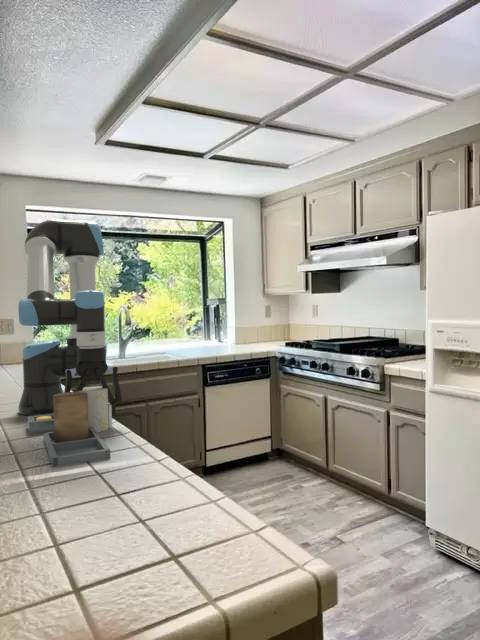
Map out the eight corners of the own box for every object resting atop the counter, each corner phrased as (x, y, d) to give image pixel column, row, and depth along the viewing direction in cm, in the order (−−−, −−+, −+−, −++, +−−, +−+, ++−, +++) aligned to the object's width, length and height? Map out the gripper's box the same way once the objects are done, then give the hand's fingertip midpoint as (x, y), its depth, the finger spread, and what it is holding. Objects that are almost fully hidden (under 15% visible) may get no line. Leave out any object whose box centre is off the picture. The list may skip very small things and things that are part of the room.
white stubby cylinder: (99, 436, 126) (98, 391, 126) (72, 435, 128) (70, 391, 127) (113, 428, 134) (112, 386, 134) (87, 427, 136) (86, 386, 135)
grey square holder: (27, 430, 133) (27, 416, 133) (58, 427, 137) (57, 413, 137) (29, 437, 126) (29, 422, 126) (61, 433, 130) (61, 419, 130)
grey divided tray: (44, 443, 121) (43, 433, 121) (92, 436, 126) (92, 426, 126) (52, 470, 100) (52, 458, 100) (110, 461, 106) (110, 449, 106)
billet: (53, 440, 120) (51, 393, 120) (85, 436, 124) (84, 390, 123) (56, 449, 113) (55, 399, 113) (91, 444, 117) (89, 395, 116)
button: (36, 427, 133) (35, 417, 132) (51, 426, 134) (51, 415, 134) (37, 431, 129) (36, 420, 129) (52, 429, 131) (52, 418, 131)
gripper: (51, 350, 122) (54, 438, 123) (132, 345, 131) (134, 427, 132) (48, 348, 129) (51, 431, 129) (126, 344, 138) (128, 421, 139)
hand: (93, 429), depth 131 cm, fingers closed on white stubby cylinder, 8 cm apart
